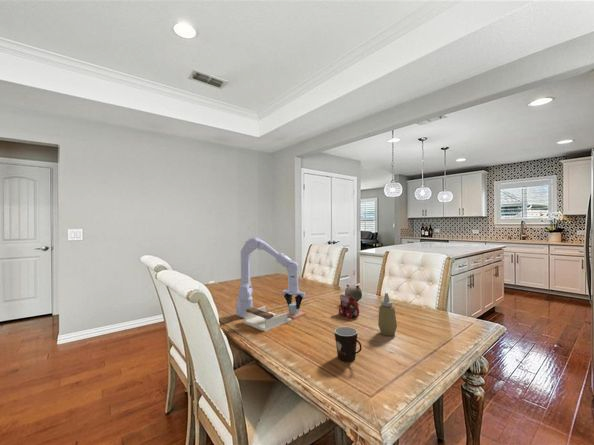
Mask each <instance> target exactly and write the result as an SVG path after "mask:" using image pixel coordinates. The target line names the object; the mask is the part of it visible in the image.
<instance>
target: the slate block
mask: <svg viewBox="0 0 594 445" xmlns="http://www.w3.org/2000/svg"><path fill="white" fill-rule="evenodd" d="M299 311H300V308H299V309H297V308H296V302H292V303H291V304H289V308H288V312H289V314H292V315H296V314H298V313H299Z"/></svg>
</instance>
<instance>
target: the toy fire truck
mask: <svg viewBox="0 0 594 445" xmlns="http://www.w3.org/2000/svg"><path fill="white" fill-rule="evenodd" d="M339 299H340V307H339V309H338V314H339V315H340V316H346V318H347V319H351V318H353V317H358V316H359V315H360V309H359V305H357V303H358V302H356V301H354V300H355V299H354V297H349V296H346V295H345V294H340V295H339Z"/></svg>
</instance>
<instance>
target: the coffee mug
mask: <svg viewBox="0 0 594 445" xmlns="http://www.w3.org/2000/svg"><path fill="white" fill-rule="evenodd" d="M333 332H334V333H333V334H334V340H335V346H336V347H335V348H336V351H337V352H336V354H337V359H338V360H339V361H341V362H342V363H351V362H352V363H353V362H354V361H355V360H356V355H357V354H359V353H360V352H361V351H362V348H363V347H362V343H361V342H360V341H359V340H358V330H357V329H356V328H354V327H351V326H340V327H339V326H338V327H336V328H335V329H334V331H333ZM357 343H358V345H359V349H358V351H357Z"/></svg>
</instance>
